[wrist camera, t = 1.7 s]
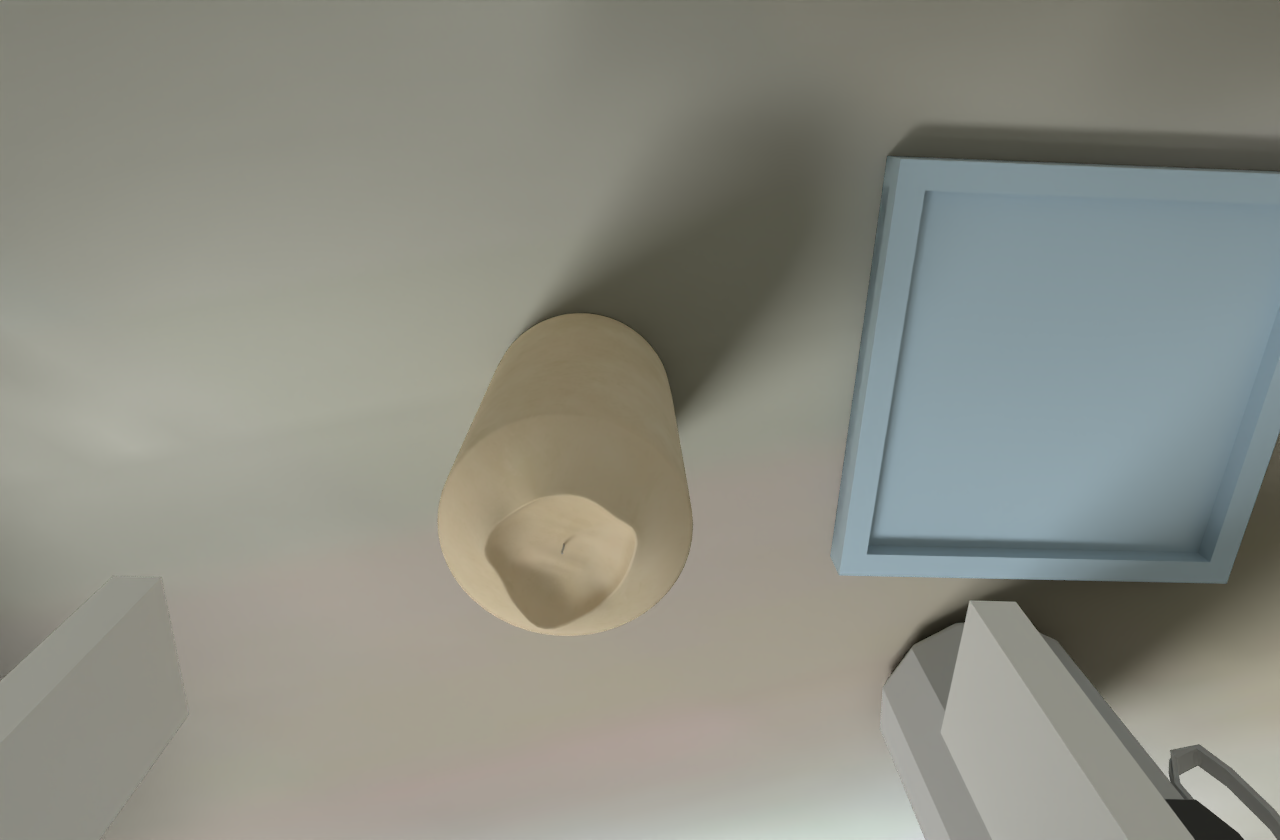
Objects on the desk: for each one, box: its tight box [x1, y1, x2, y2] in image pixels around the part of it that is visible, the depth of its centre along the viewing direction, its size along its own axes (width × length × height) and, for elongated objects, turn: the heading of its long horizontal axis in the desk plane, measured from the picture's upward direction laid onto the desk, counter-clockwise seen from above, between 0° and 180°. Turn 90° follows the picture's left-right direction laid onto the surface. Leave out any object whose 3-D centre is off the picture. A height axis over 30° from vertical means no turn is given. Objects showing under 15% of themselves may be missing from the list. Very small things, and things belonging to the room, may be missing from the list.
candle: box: [438, 313, 693, 636], centre depth 21 cm, size 6×6×10 cm
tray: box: [830, 156, 1280, 584], centre depth 25 cm, size 13×13×1 cm
